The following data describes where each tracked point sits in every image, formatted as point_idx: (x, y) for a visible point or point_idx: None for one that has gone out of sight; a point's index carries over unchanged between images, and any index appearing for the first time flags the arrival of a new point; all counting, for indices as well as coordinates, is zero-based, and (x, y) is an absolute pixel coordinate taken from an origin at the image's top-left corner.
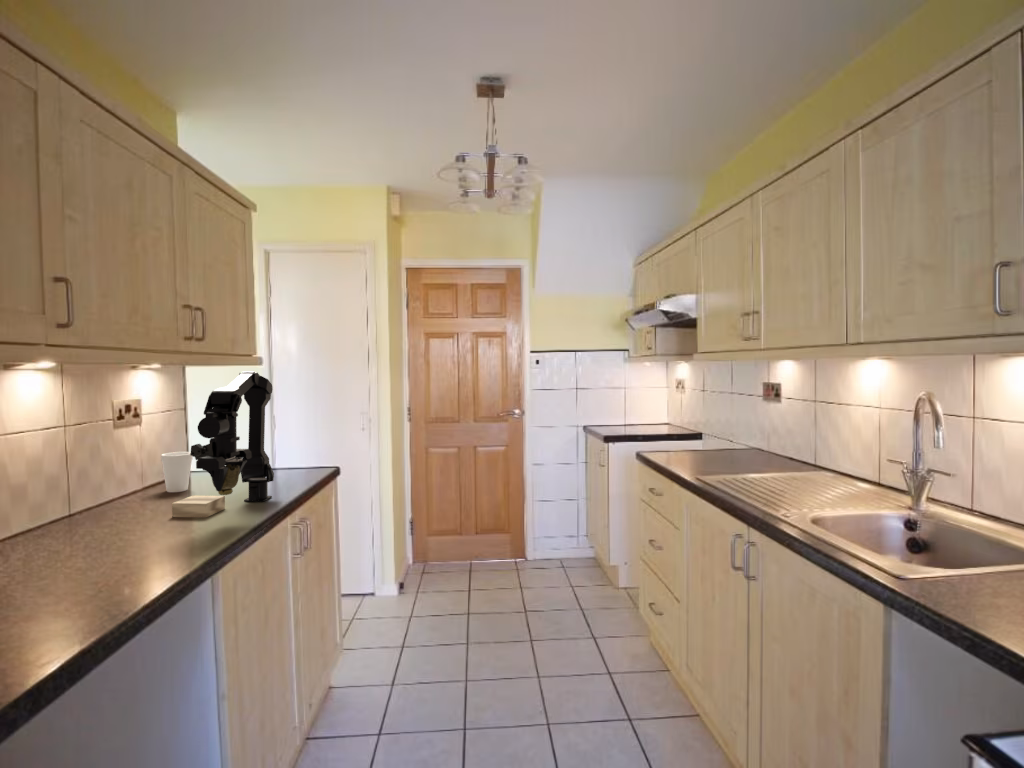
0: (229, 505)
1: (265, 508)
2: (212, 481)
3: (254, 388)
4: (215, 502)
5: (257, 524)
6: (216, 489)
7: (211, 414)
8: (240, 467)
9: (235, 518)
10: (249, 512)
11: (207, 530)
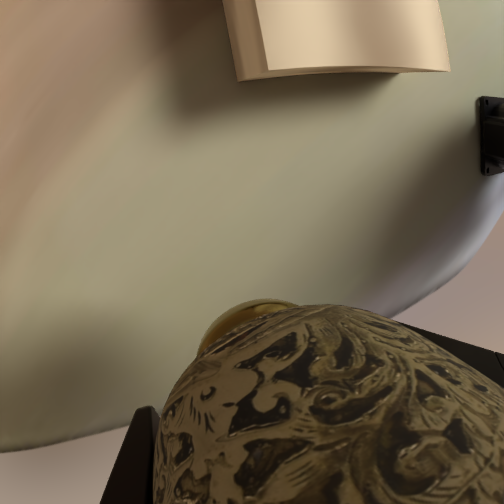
0: None
1: (418, 249)
2: (180, 417)
3: None
4: (367, 67)
5: None
6: (133, 422)
7: None
8: None
9: (260, 255)
10: (364, 234)
11: (43, 298)
